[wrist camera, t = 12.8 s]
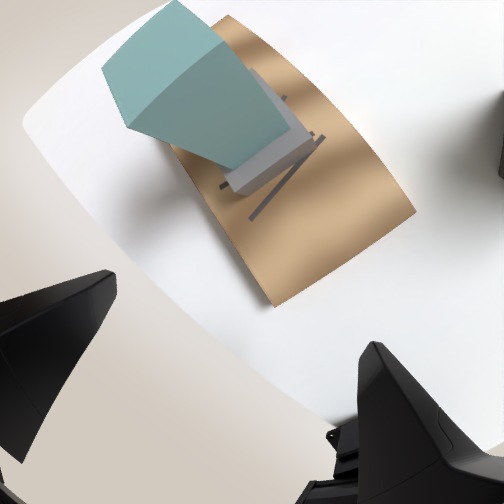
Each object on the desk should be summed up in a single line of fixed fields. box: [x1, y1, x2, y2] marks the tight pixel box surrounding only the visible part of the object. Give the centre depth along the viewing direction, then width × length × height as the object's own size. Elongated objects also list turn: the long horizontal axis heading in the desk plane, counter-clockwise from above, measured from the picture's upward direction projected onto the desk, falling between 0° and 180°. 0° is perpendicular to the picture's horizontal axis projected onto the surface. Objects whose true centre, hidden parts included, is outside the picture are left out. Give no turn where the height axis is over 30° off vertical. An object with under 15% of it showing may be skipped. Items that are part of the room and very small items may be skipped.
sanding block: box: [101, 0, 317, 197], centre depth 14 cm, size 7×6×12 cm
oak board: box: [170, 15, 416, 308], centre depth 20 cm, size 24×12×2 cm, turn 35°
